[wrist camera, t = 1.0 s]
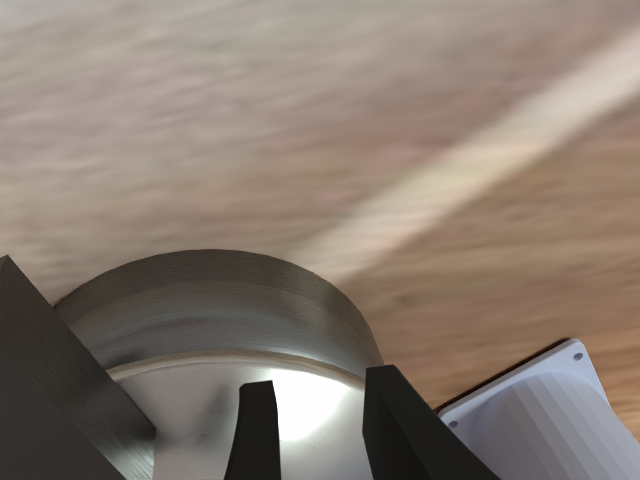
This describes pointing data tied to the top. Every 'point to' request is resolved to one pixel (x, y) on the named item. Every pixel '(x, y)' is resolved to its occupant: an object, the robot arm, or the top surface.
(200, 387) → the cooker lid
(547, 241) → the top surface
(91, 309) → the cooker pot
